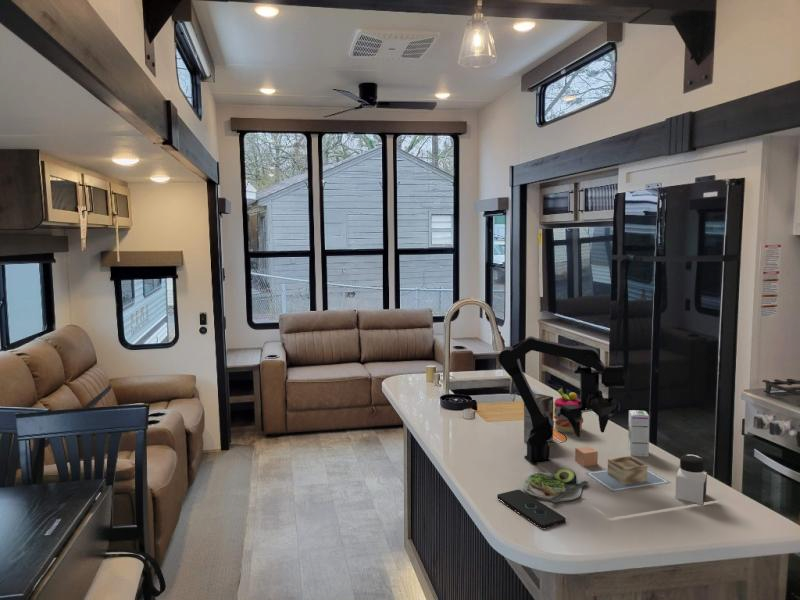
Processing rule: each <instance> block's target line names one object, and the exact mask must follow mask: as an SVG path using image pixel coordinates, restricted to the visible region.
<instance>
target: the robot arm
mask: <svg viewBox="0 0 800 600" xmlns="http://www.w3.org/2000/svg"><path fill="white" fill-rule="evenodd" d="M531 351H533V352H538V353H541V354H542V353H543V354H547V355H551V356H555V357H559V358H564V359H568V360H570V361H572V362H573V363H575V364H577V366H576V367H575V368H574V369H573V373H574V374H579V385H580V386H579V388H577V393H580V396H579V397H580V399H579V400H580V401H578V405H581V407H576V406H574V405H571V404H570V405H564V406H562V407H561V408H560V414H561V415H563V416H564V417H567V418H568V420H569V422H570V423H571V425H572V427H573V430H574V432H575V433H574V434H575V436H576V437H578V438H579V437H580V436H581V435H580V434H581V432H580V421H581V419H582V418H580V416H581V413H582V412H583V413H587V412H594V413H595V415H596V416H598V423H599V426H598V427H599V431H600V432H601V433H604V432H605V430H606V427H607V426H608V422H609V420H610V417H612V416H614V415H615V414H617V412H619V411H620V404H619V402H618V401H617V399H616V398H615V397H613V396H611V397H605V398H604V395H603V391H602V390H600V384H601V385H603V386H604V388H618V389H619V388H625V377H624V366H623V365H605V364H604V362H603V361H602V360H601V358H600V355H599V352H598V350H597V348H595V347H593V346H591V345H570V344H569V345H567V344H564V343H559V342H555V341H550V340H546V339H542V338H536V337H534V336H532V335H530V336H527V337H526V338H524V339H522V340H521V341H519V342H518V343H515V344H514V345H512V346H509V345H508V346H505V347H503V349H502V350H501V351H500V352H499V354H498V358H497V359H498V363H499V364H500V365H501V367H502V369H504V371H505V372H506V373H507V374H508V375H509V377H510V378H511V380H512V382H513V383H514V385H515V387H516V389H517V391H518V393H519V395H520V397H521V400H522V401H523V405H524V404H525V406H526V408H527V410H528V412H529V414H530V416H531V421H532V426H533V429H532V430H530V432H529V437H528V441H527V442H526V455H524V458H525V460H527V461H528V462H529V463H531V464H532V465H537V464H539V463H544V462H546V463H547V462H551V459H550V451H551V450H550V448H551V447H550V445H549V442H550V441H548V442H547V440H549V439H551V437H552V435H553V436H554V429H555V421H554V419H553V420H552V419H551V417H550V414H549V411H548V412H546V413H544V411H543V410H542V409H541V408H540V406H539V404H538V402H537V400H536V398H535V396H534V395H535V394H534V392H533V390H532V388H531V386H530V383H529V381H528V380H527V377H526V376H525V373H524V372H523V368H522V363H521V360H520V358H522V357H523V356H526V355H527V354H528V353H529V352H531ZM582 366H583V367H582ZM600 382H601V383H600ZM583 413H582V414H583Z"/></svg>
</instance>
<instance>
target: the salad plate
mask: <svg viewBox="0 0 800 600" xmlns="http://www.w3.org/2000/svg"><path fill="white" fill-rule="evenodd" d="M524 479H525V480H524V483H523V486H522V491H523V492H525V493H526V494H528V495H529V496H531V497H533V498H534V499H536V500H541V499H542V500H541V501H549V502H551V503H560V502H567V501H573V500H577V499H578V498H580V497H581V495H582V489H583V488H584V487H585V486H586V485H588V484H589V482H588V481H587V480H583V481H582V480H581V479H579V478H577V474H576V473H575V471H573V470H572V469H570V468H560V469H558V470H556V471H555V472H554V473H549V472H539V471H538V472H537V471H536V472H532V473H529V474H527V476H526V477H525V478H524ZM532 487H534V488H537V489H540V490H542V491H543V494H537V493H536V492H534V491H533V489H532ZM531 489H532V490H531Z"/></svg>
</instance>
